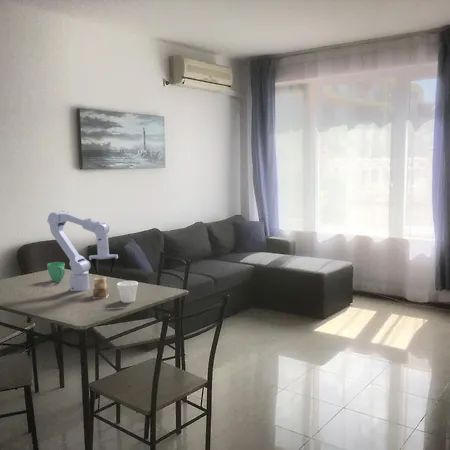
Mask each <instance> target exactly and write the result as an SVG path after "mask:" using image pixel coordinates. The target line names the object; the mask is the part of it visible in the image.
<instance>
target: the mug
mask: <svg viewBox="0 0 450 450" xmlns="http://www.w3.org/2000/svg"><path fill="white" fill-rule="evenodd" d="M65 265H66V264H65V262H63V261H54V262H49V263H47V264H46V267H47V271H48V274H49V277H50V280H51V281H52V282H55V283H57V282H61V281H62V280H63V278H64V276H65Z"/></svg>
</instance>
